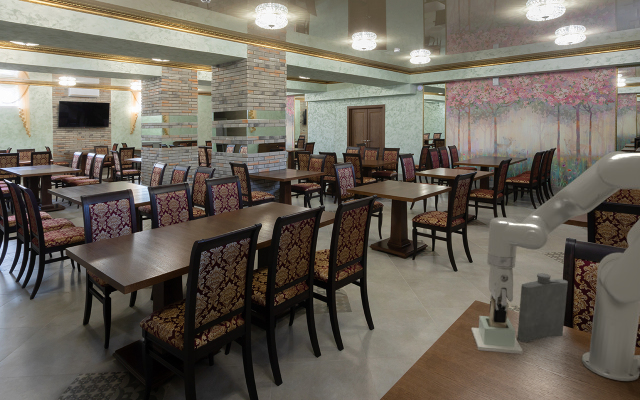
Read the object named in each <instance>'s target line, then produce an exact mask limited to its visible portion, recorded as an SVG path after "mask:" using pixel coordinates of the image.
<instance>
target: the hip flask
mask: <svg viewBox="0 0 640 400" xmlns="http://www.w3.org/2000/svg"><path fill="white" fill-rule="evenodd" d="M536 278H537V280H536V281H535V280H534V281H530V282H525V283H522V284H521V287H520V300H519V301H520V303H519V314H518V315H519V316H518V324H517V325H518V326H517V337H516V339H517V341H519V342H522V343H529V342H532V341H535V340H540V339H546V338H547V339H548V338H553V337H554V338H556V337H562V336H563V335H564V325H565V315H566V314H565V313H566V304H567V294H568V293H567V292H568V284H569V283H568V282H569V281H568V280H565V279H561V278H559V279H558V278H557V279H554V278H553V279H552V278H551V275H550V274H547V273H543V272H541V273H537V274H536Z"/></svg>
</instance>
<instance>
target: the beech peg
mask: <svg viewBox="0 0 640 400" xmlns="http://www.w3.org/2000/svg"><path fill="white" fill-rule="evenodd" d="M498 299H499V298H498ZM490 301H491V308H490V307H489V316H488V317H489V327H499V328H506V324H507V318H508V314H509V306H510V305H509V302H507V310H506V322H505V323H497V322H494V309H496V300H495V299H494V298H492V299H491V298H490ZM499 304H501V302H498V305H499Z"/></svg>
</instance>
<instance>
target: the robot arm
mask: <svg viewBox="0 0 640 400" xmlns="http://www.w3.org/2000/svg"><path fill="white" fill-rule="evenodd" d="M619 190H640V152H627V151H621V150H620V151H619V150H617V151H616V150H615V151H612V152H609V153H607V154H605V155H603V156H602V157H601V158H599V159H598V160H597V161H595V162H594V163H593V164H592V165H591V166H590V167H588V168H587V169H586V170H585V171H583V172H582V173H581V174H580V175H578V176H577V177H576V178H574V180H572V181H571V182H570V183H568V184H567V185H566V186H564V187H563V188H562V189H561V190H559V191H558V192H557V193H556V194H555V195H554V196H552V197H551V198H550V199H548V200H547V201H545V202H544V203H543V204H541V205H540V206H539V207H537V209H535V210H534V211H532V212H531V213H530V214H529V215H528V216H527V217H525V219H523V220H522V222H518V221H517V220H516V219H514V218H511V217H503V216H502V217H500V216H498V217H492V219H490V221H489V229H488V245H487V246H488V247H487V258H486V259H487V261H486V264H487V265H488V266H489V273H488V289H489V292H490V302H489V309H490V308H491V299H492V298H494V299H495V300H496V309H494V322H497V323H505V322H506V310H507V303H508V302H510V303H512V301H513V299H514V270H513V268H515V267H516V260H517V247H519V248H523V249H526V250H532V251H533V250H539V249H542V248H544V247H545V246H546V245H547V243H548V239H549V234H551V233H552V232H554V230H556V229H557V228H559V227H560V226H561V225H563V224H565V223H566V222H567V221H568V220H569V221H570V220H571V219H572V218H575V217H579V216H583V215H586V214H588V213H590V212H591V211H593V210H594V209H595V208H596V207H598V206H599V205H601V203H603V202H604V201H606V200H607V199H608V198H610V197H611V196H612V195H614V194H615V193H616V192H618V191H619ZM626 241H627V244H628V247H627V248H626V249H625V250H624V251H623V252H613V253H609V254H607V255H605V256H603V258H602V259H601V260H600V262H599V264H598V266H597V274H596V293H595V301H594V303H595V304H594V311H593V318H592V327H591V337H590V344H589V345H590V346H589V351H587V352H584V353H583V354H582V356H581V362H582V364H583V365H584V366H585V368H587V369H589V371H591V372H592V373H594V374H596V375H599V376H601V377H604V378H607V379H609V380H610V379H611V380H615V381H621V382H631V381H635V380H638V379H639V376H640V355H638V354H637V355H635V351H636V344H637V337H638V336H637V335H638V329H639V322H640V218H639V219H638V220H637V222H635V224H634V225H633V226H632V227H631V228H630V230H629V231H628V232H627V236H626ZM498 298H499V299H498ZM498 302H501V304H499V305H498Z"/></svg>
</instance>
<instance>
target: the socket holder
mask: <svg viewBox="0 0 640 400" xmlns="http://www.w3.org/2000/svg"><path fill="white" fill-rule="evenodd" d="M489 317H490V316H489V315H488V316H485V315H479V316H478V318H479V320H478V327H471V333H472V335H473V340H474V342H475V345H476V348H477V350H478V351H485V352H495V353H496V352H497V353H507V354H516V355H517V354H518V355H519V354H520V355H523V352H524V351H523V349H522V347H521V345H520V343H519V342H518V341H519V340H518V339H517V337H516V329H515V327H514V326H513V324H512V322H511V320H510V318H509V317H507V324H506V328H499V327H489Z"/></svg>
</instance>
